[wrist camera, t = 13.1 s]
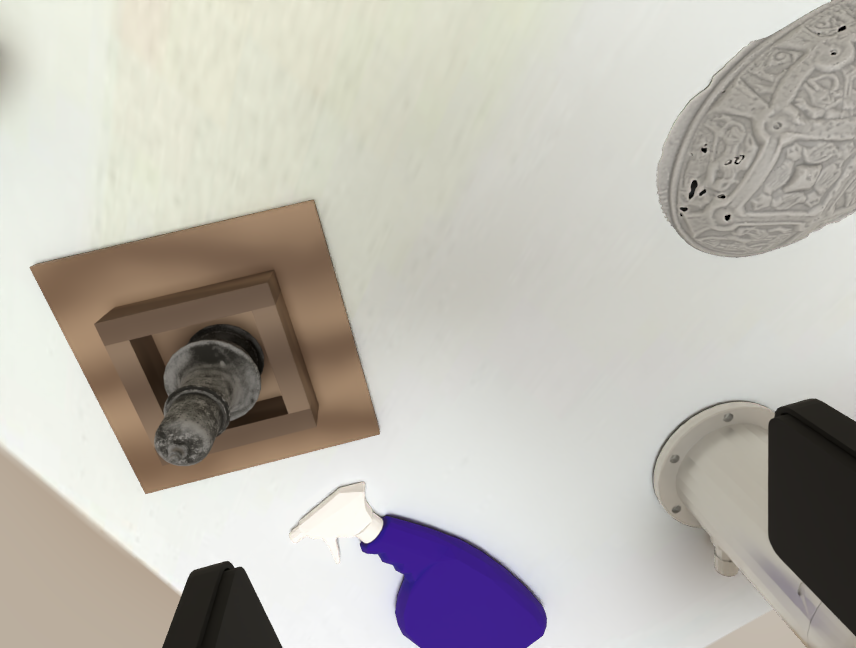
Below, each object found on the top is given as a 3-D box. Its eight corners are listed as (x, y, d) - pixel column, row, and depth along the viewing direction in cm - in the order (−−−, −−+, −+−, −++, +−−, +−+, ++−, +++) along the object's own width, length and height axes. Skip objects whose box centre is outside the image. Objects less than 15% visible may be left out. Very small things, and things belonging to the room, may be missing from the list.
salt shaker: (219, 411, 39) (167, 530, 28) (161, 350, 37) (79, 453, 26) (286, 367, 38) (260, 470, 27) (230, 303, 36) (177, 387, 25)
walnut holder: (379, 428, 42) (382, 457, 38) (149, 487, 41) (130, 521, 38) (313, 199, 35) (309, 208, 32) (36, 263, 34) (0, 280, 31)
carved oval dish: (616, 137, 36) (681, 149, 30) (935, -98, 35) (1069, -135, 29) (690, 303, 43) (755, 339, 37) (957, 113, 42) (1068, 119, 36)
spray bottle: (561, 625, 49) (372, 472, 41) (472, 692, 51) (272, 558, 43) (550, 599, 52) (371, 450, 44) (466, 663, 54) (277, 531, 45)
